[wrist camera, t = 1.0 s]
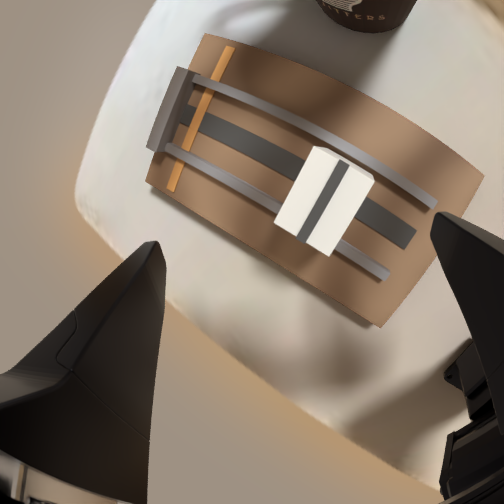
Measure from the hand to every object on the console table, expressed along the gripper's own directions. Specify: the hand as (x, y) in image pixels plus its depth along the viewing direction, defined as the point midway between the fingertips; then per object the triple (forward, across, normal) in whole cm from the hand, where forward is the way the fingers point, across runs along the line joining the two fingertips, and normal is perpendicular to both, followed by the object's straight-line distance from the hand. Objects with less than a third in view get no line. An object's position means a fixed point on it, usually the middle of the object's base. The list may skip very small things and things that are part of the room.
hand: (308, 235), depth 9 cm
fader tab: (+8, -3, +3) cm, 9 cm away
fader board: (+11, -2, +2) cm, 11 cm away
